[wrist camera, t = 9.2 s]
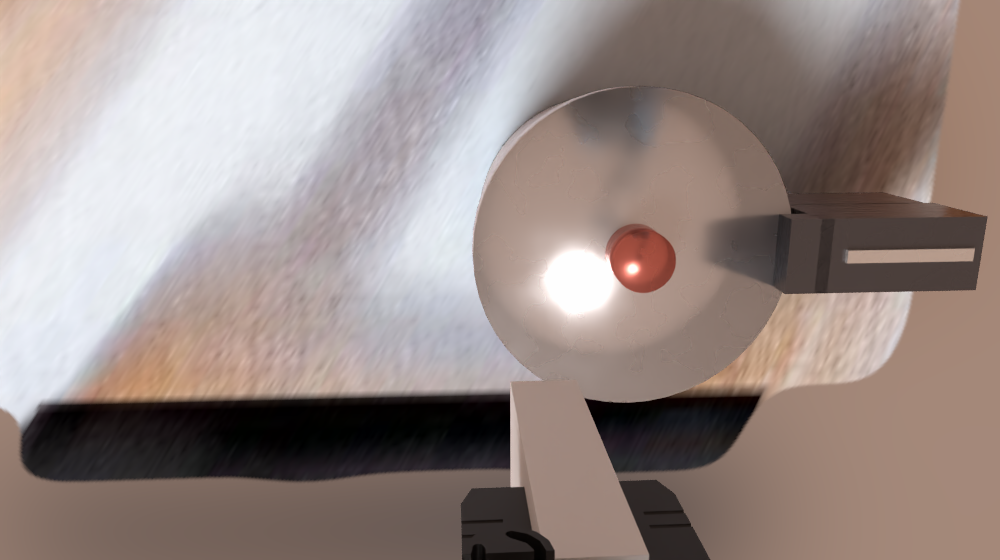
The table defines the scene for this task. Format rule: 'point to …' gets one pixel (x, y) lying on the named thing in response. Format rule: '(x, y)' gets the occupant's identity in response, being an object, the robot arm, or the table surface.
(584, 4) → the table surface
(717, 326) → the lid
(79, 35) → the table surface
